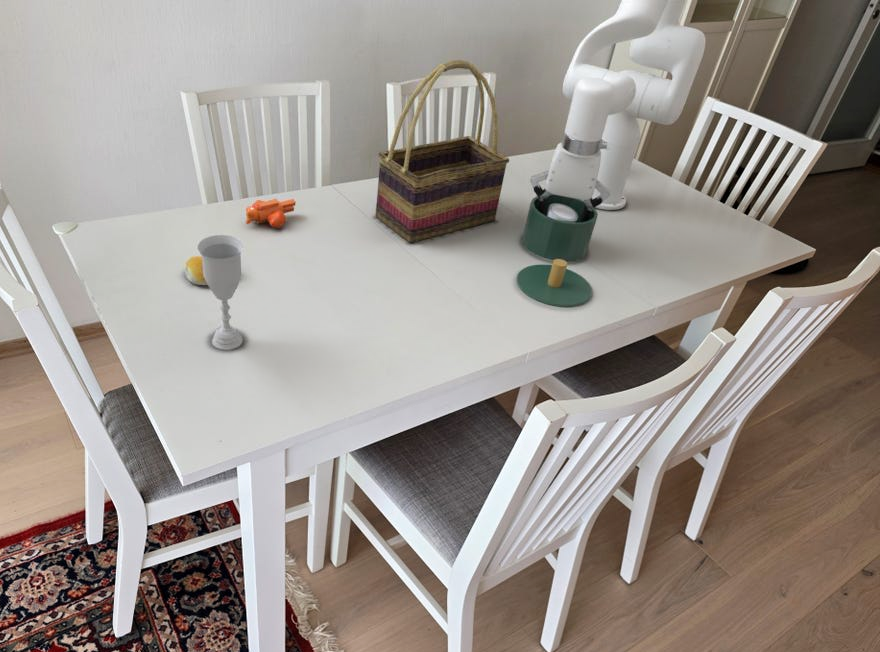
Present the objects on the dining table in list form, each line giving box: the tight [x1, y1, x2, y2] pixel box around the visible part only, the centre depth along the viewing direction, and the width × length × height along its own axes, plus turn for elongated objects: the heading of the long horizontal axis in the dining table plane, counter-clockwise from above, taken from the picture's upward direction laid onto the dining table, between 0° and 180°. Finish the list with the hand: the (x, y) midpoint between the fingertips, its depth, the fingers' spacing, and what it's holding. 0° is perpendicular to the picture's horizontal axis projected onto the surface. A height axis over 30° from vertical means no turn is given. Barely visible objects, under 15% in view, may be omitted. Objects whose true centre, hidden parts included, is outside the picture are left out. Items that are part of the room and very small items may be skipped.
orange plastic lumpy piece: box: [245, 198, 297, 229], centre depth 147 cm, size 5×8×12 cm
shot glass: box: [546, 204, 578, 223], centre depth 151 cm, size 7×7×7 cm
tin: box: [521, 194, 599, 262], centre depth 150 cm, size 14×14×10 cm
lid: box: [516, 259, 593, 308], centre depth 137 cm, size 15×15×6 cm
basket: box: [375, 59, 510, 244], centre depth 147 cm, size 26×15×35 cm, turn 126°
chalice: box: [197, 234, 244, 351], centre depth 109 cm, size 7×7×18 cm
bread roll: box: [183, 255, 208, 286], centre depth 129 cm, size 8×9×4 cm
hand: (561, 219), depth 150 cm, fingers open, 8 cm apart
